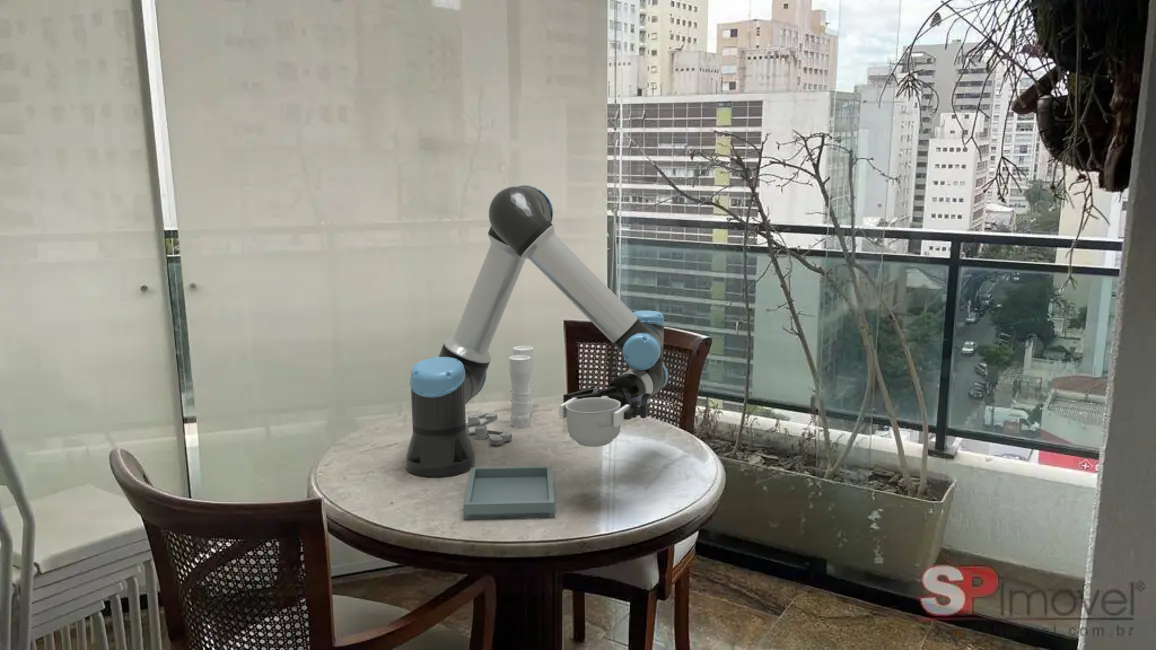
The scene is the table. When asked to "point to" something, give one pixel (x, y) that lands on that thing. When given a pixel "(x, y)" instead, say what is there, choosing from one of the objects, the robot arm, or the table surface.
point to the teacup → (592, 420)
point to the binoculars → (521, 385)
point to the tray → (510, 493)
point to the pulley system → (482, 430)
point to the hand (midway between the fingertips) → (587, 416)
